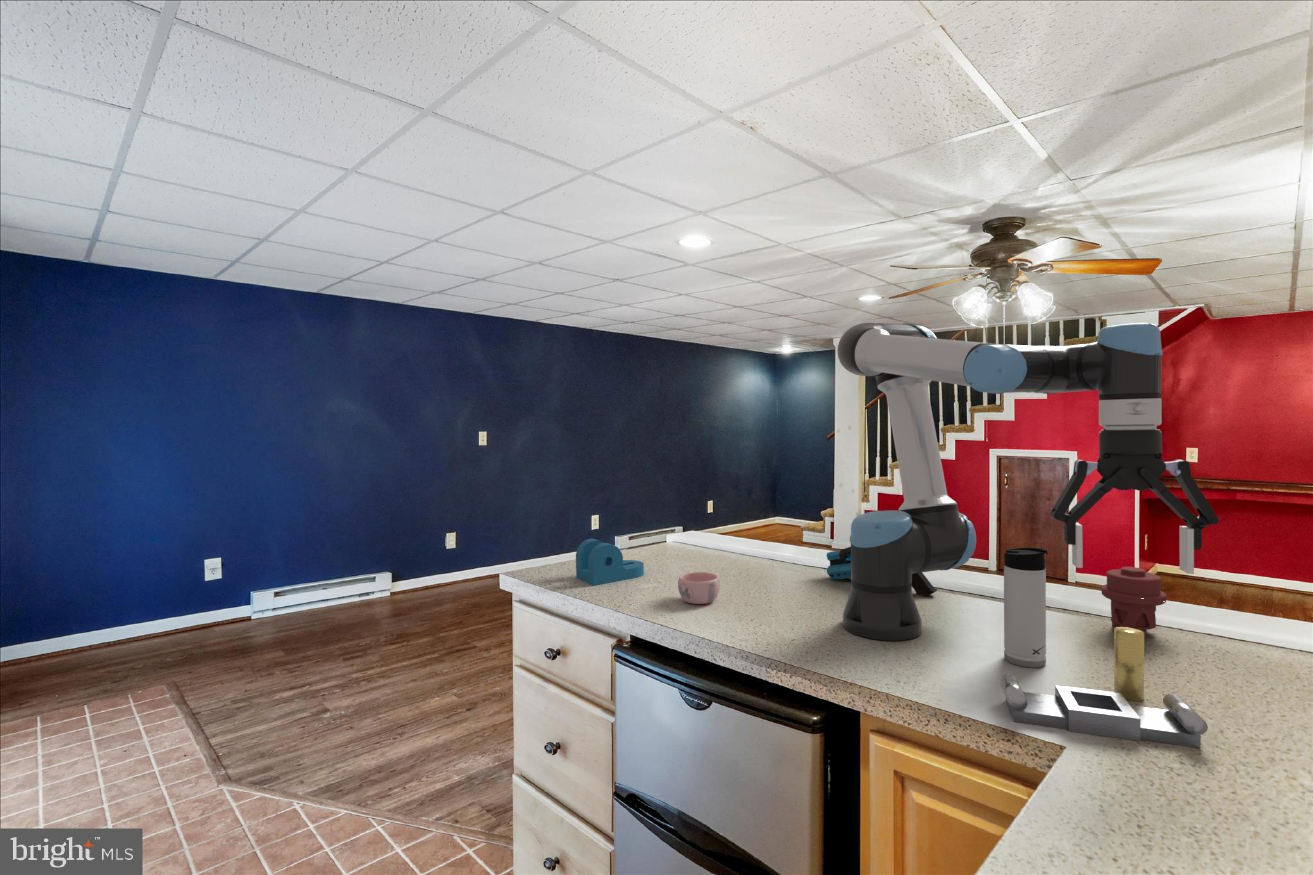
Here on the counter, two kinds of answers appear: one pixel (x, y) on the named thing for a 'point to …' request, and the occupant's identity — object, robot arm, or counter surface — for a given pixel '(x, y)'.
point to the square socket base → (1105, 714)
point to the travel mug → (1025, 607)
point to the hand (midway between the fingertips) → (1130, 568)
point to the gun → (842, 570)
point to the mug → (698, 587)
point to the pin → (1129, 663)
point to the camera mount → (604, 564)
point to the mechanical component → (1133, 597)
